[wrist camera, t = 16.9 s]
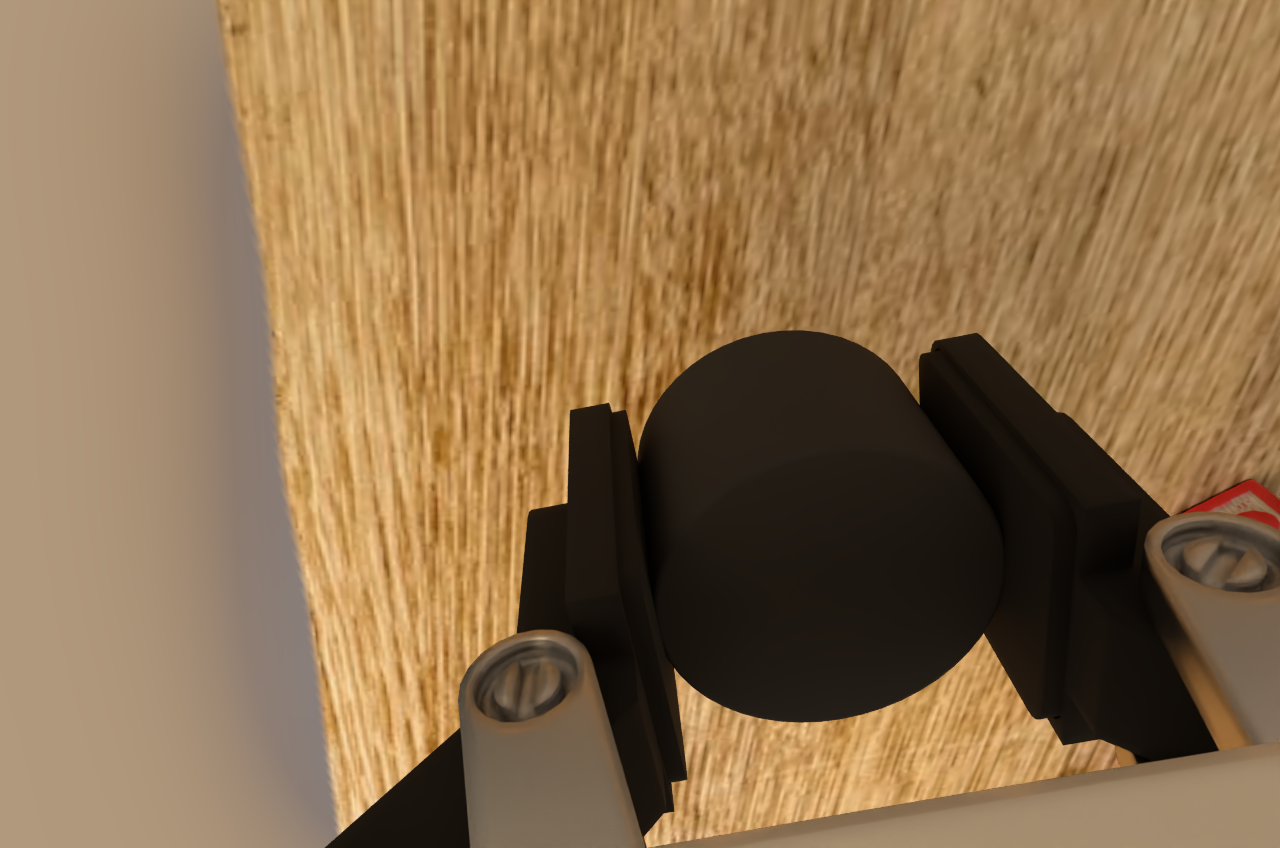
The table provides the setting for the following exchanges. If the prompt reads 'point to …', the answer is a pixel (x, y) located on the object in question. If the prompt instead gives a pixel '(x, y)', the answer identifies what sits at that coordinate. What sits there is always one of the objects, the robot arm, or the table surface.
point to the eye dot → (810, 531)
